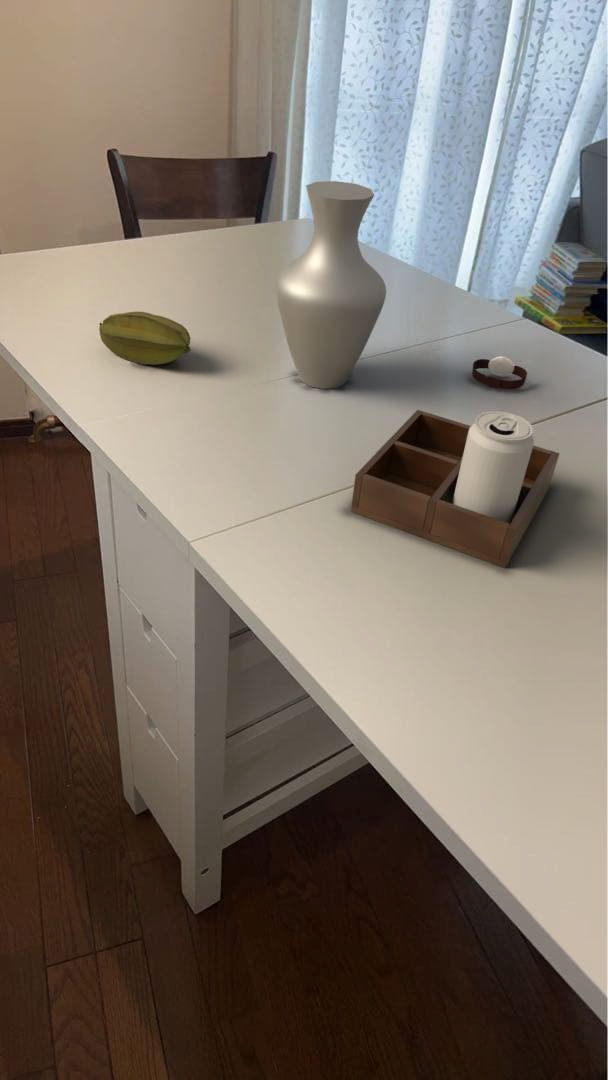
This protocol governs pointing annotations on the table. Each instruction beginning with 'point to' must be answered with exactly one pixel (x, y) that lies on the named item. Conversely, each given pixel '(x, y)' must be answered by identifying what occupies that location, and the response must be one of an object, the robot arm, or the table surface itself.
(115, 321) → the fruit
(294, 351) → the vase
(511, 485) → the beverage can
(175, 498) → the table surface
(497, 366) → the watch
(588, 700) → the table surface
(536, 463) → the tray
